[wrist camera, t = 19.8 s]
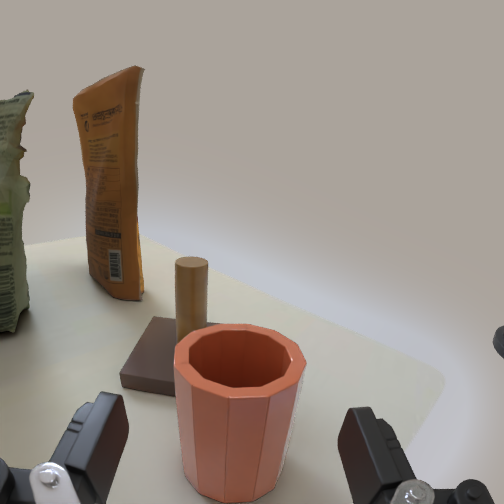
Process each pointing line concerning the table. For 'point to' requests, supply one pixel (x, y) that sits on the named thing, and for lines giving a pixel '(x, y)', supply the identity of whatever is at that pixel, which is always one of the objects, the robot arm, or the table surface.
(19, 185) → the pouch
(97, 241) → the pancake mix bag
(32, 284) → the table surface
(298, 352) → the faceted terracotta cup
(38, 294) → the table surface
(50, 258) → the table surface
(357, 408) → the robot arm
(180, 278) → the ring stand
